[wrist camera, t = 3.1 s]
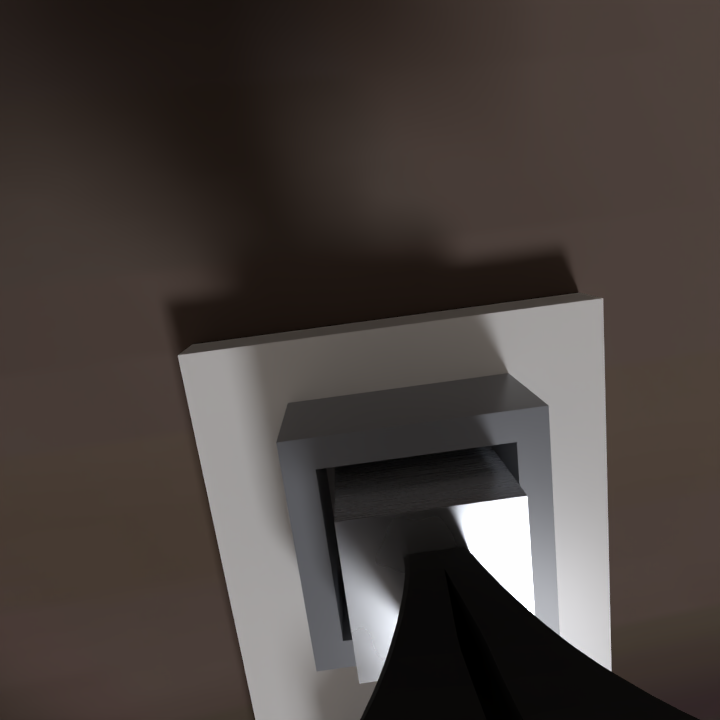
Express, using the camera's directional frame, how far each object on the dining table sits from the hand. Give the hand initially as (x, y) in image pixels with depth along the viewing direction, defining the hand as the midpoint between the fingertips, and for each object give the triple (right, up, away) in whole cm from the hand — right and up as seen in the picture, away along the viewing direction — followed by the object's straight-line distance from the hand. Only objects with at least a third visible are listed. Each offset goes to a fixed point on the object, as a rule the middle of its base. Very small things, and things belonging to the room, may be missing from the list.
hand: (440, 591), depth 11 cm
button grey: (0, +1, +3) cm, 3 cm away
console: (0, -4, +7) cm, 9 cm away
